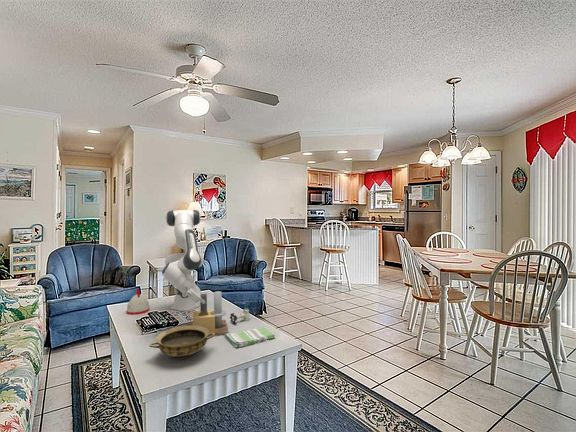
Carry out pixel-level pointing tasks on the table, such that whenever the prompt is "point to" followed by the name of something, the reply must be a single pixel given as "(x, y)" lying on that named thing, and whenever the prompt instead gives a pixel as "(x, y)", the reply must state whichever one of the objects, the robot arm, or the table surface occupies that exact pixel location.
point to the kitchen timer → (137, 304)
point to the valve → (240, 316)
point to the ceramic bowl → (182, 340)
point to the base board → (216, 329)
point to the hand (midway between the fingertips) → (204, 301)
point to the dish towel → (249, 337)
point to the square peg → (203, 306)
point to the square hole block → (210, 315)
